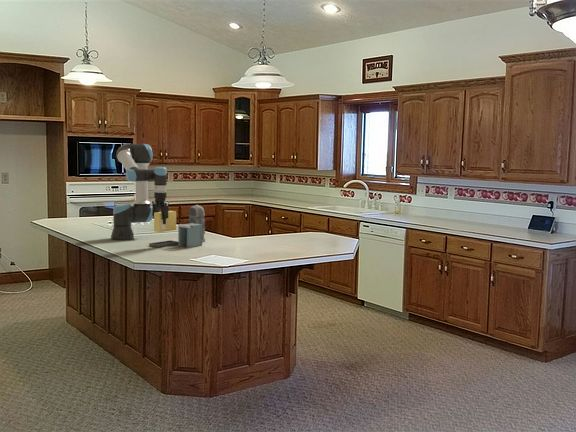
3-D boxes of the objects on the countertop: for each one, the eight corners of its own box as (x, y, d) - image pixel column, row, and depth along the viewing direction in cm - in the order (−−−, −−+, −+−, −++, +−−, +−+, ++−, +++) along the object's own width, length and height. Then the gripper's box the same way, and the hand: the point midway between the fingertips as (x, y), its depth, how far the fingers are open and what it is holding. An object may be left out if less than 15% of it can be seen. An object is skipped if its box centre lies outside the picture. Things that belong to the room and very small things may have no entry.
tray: (149, 246, 385) (149, 243, 385) (170, 243, 399) (170, 240, 399) (158, 247, 380) (158, 244, 380) (179, 244, 394) (179, 241, 394)
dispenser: (178, 246, 387) (178, 224, 386) (192, 244, 397) (192, 222, 395) (188, 247, 382) (188, 225, 380) (202, 245, 391) (202, 224, 390)
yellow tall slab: (154, 231, 381) (154, 212, 379) (170, 229, 392) (171, 210, 390) (159, 232, 378) (159, 213, 376) (176, 229, 389) (176, 211, 388)
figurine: (198, 243, 401) (198, 205, 398) (185, 240, 411) (185, 204, 408) (209, 241, 408) (209, 204, 405) (196, 239, 418) (196, 203, 415)
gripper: (146, 191, 381) (146, 227, 384) (165, 193, 370) (165, 231, 373) (155, 190, 387) (155, 226, 390) (174, 192, 376) (174, 229, 379)
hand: (160, 228), depth 382 cm, fingers closed on yellow tall slab, 5 cm apart
